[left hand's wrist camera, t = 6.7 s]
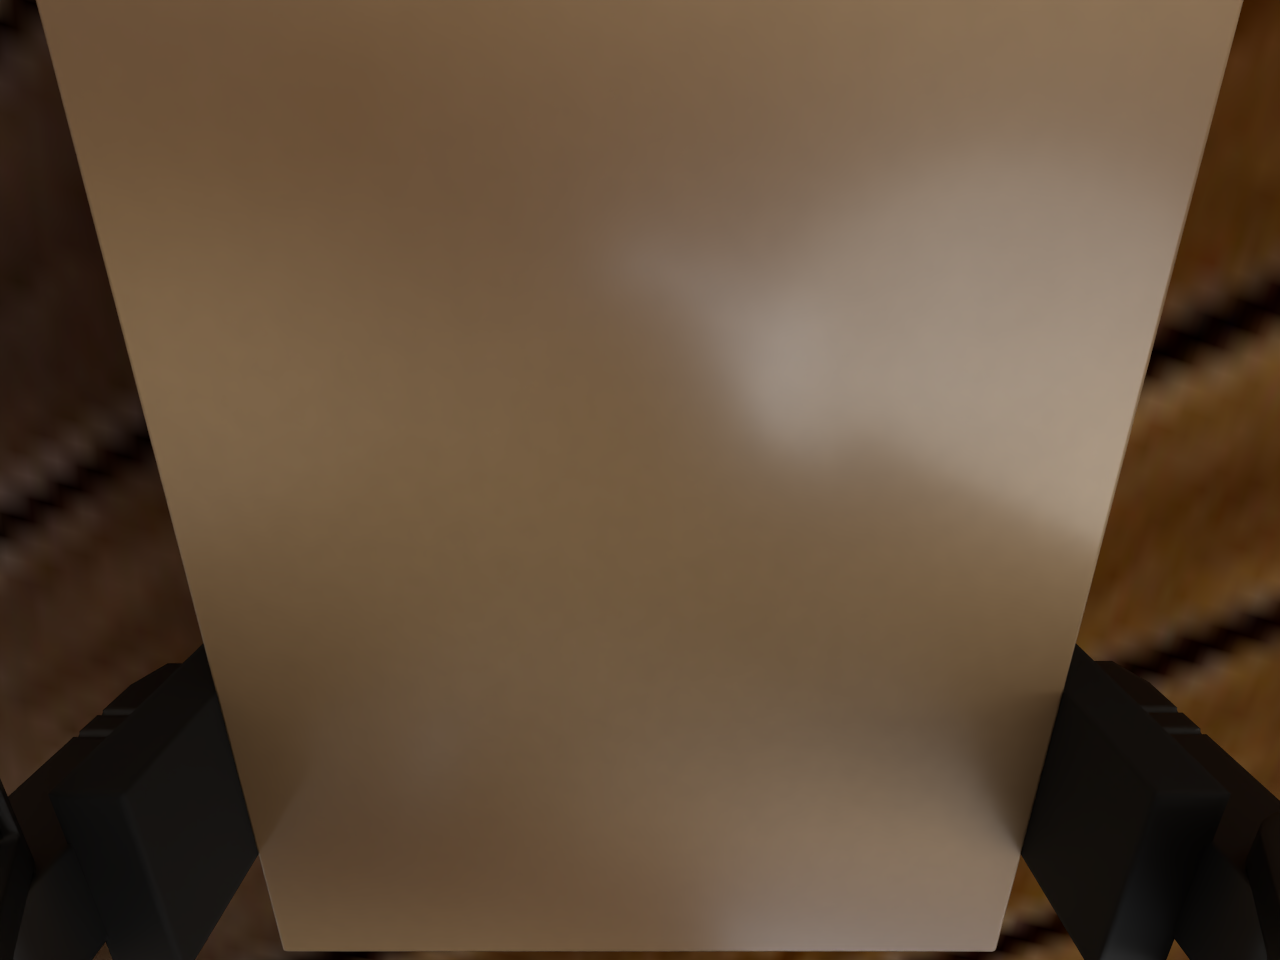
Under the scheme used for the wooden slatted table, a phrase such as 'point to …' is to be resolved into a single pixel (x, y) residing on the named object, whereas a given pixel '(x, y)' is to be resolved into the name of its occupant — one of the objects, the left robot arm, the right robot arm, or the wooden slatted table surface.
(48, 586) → the wooden slatted table surface
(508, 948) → the cabinet
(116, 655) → the wooden slatted table surface
